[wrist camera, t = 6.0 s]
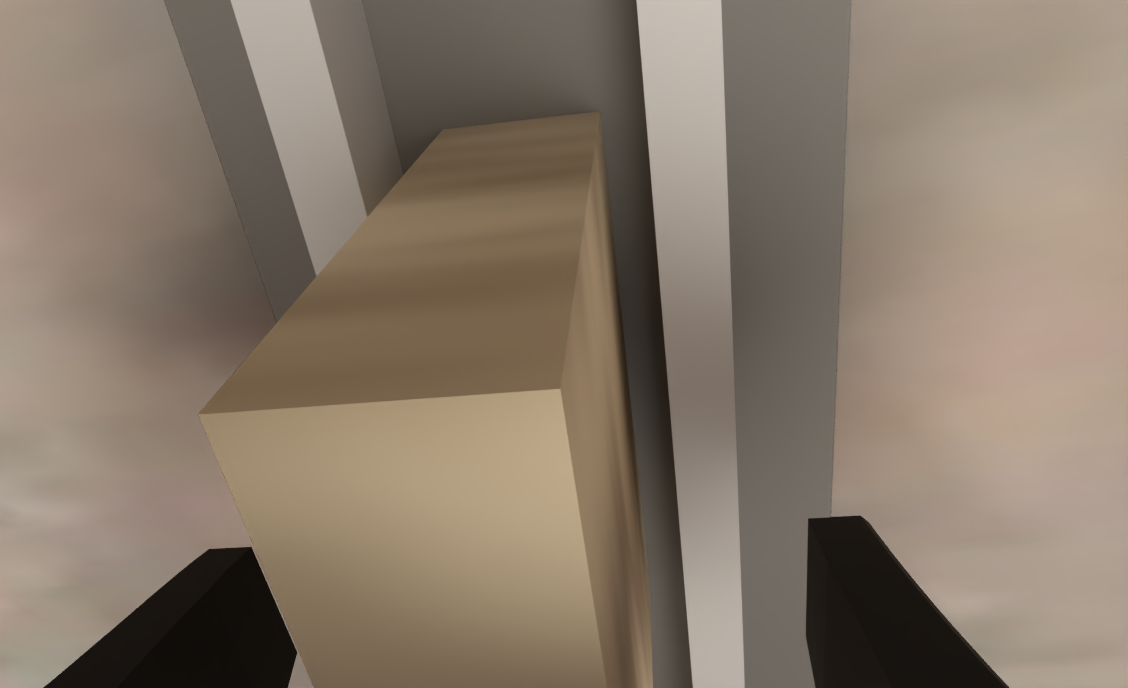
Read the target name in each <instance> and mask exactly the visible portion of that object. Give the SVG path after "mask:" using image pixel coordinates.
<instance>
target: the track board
mask: <svg viewBox="0 0 1128 688" xmlns="http://www.w3.org/2000/svg"><path fill="white" fill-rule="evenodd" d="M164 2H165V4H166V7H167V10H168V13H169V16H170V19H171V22H172V25H173V27H174V30H175V33H176V36H177V39H178V42H179V45H180V47H181V50H182V53H183V56H184V59H185V62H186V65H187V67H188V70H189V73H190V76H191V79H192V82H193V85H194V88H195V90H196V93H197V96H198V99H199V102H200V105H201V108H202V110H203V113H204V116H205V119H206V122H207V125H208V128H209V131H210V133H211V136H212V139H213V142H214V145H215V148H216V151H217V153H218V156H219V159H220V162H221V165H222V168H223V171H224V174H225V176H226V179H227V182H228V185H229V188H230V191H231V194H232V196H233V199H234V202H235V205H236V208H237V211H238V214H239V216H240V219H241V222H242V225H243V228H244V231H245V234H246V237H247V239H248V242H249V245H250V248H251V251H252V254H253V257H254V259H255V262H256V265H257V268H258V271H259V274H260V277H261V280H262V282H263V285H264V288H265V291H266V294H267V297H268V300H269V302H270V305H271V308H272V311H273V314H274V317H275V320H276V323H277V322H278V321H279V320H280V319H281V317H282V316H283V315H284V314H285V313H286V312H287V310H288V309H289V308H290V307H291V306H292V305H293V303H294V302H295V301H296V300H297V299H298V298H299V296H300V295H301V294H302V293H303V292H304V291H305V289H306V288H307V287H308V286H309V285H310V284H311V282H312V281H313V280H314V279H315V278H316V277H317V275H318V274H319V273H320V272H321V271H322V270H323V268H324V267H325V266H326V265H327V264H328V263H329V261H330V260H331V259H332V258H333V257H334V256H335V254H336V253H337V252H338V251H339V250H340V249H341V247H342V246H343V245H344V244H345V243H346V242H347V240H348V239H349V238H350V237H351V236H352V235H353V233H354V232H355V231H356V230H357V229H358V228H359V227H360V225H361V224H362V223H363V222H364V221H365V220H366V218H367V217H368V216H369V215H370V214H371V213H372V211H373V210H374V209H375V208H376V207H377V206H378V204H379V203H380V202H381V201H382V200H383V199H384V197H385V196H386V195H387V194H388V193H389V192H390V190H391V189H392V188H393V187H394V186H395V185H396V183H397V182H398V181H399V180H400V179H401V178H402V176H403V175H404V174H405V173H406V172H407V171H408V169H409V168H410V167H411V166H412V165H413V164H414V162H415V161H416V160H417V159H418V158H419V157H420V155H421V154H422V153H423V152H424V151H425V150H426V148H427V147H428V146H429V145H430V144H431V143H432V141H433V140H434V139H435V138H436V137H437V136H438V134H439V133H440V132H441V131H442V130H443V129H450V128H459V127H468V126H476V125H485V124H494V123H502V122H511V121H519V120H528V119H537V118H545V117H554V116H562V115H571V114H580V113H588V112H597V111H600V115H601V124H602V134H603V143H604V153H605V162H606V172H607V181H608V191H609V200H610V210H611V219H612V229H613V238H614V248H615V257H616V267H617V276H618V286H619V295H620V305H621V314H622V324H623V333H624V343H625V352H626V362H627V371H628V381H629V390H630V400H631V409H632V419H633V428H634V438H635V447H636V457H637V467H638V476H639V486H640V495H641V505H642V514H643V524H644V533H645V543H646V552H647V562H648V571H649V581H650V609H651V641H652V672H653V688H815V683H814V677H813V672H812V667H811V662H810V656H809V651H808V646H807V641H806V594H807V546H808V518H825V517H831V502H832V477H833V451H834V426H835V400H836V375H837V349H838V324H839V298H840V273H841V247H842V222H843V196H844V171H845V145H846V120H847V94H848V69H849V43H850V18H851V0H164Z"/></svg>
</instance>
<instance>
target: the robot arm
mask: <svg viewBox="0 0 1128 688" xmlns="http://www.w3.org/2000/svg"><path fill="white" fill-rule="evenodd" d="M806 641H807V646H808V651H809V656H810V662H811V667H812V672H813V677H814V683H815V688H1009V687H1008V686H1007V685H1006V684H1005V683H1004V682H1003V680H1002V679H1001V678H1000V677H999V676H998V675H997V674H996V673H995V672H994V671H993V670H992V669H991V668H990V666H989V665H988V664H987V663H986V662H985V661H984V660H983V659H982V658H981V657H980V655H979V654H978V653H977V652H976V651H975V650H974V649H973V648H972V647H971V646H970V644H969V643H968V642H967V641H966V640H965V639H964V638H963V637H962V636H961V634H960V633H959V632H958V631H957V630H956V629H955V628H954V627H953V626H952V624H951V623H950V622H949V621H948V620H947V619H946V618H945V616H944V615H943V614H942V613H941V612H940V611H939V609H938V608H937V607H936V606H935V605H934V604H933V602H932V601H931V600H930V599H929V598H928V596H927V595H926V594H925V593H924V592H923V590H922V589H921V588H920V587H919V586H918V584H917V583H916V582H915V581H914V580H913V578H912V577H911V576H910V575H909V574H908V572H907V571H906V570H905V569H904V567H903V566H902V565H901V564H900V562H899V561H898V560H897V559H896V557H895V556H894V555H893V554H892V552H891V551H890V550H889V548H888V547H887V546H886V544H885V543H884V542H883V541H882V539H881V538H880V537H879V535H878V534H877V533H876V531H875V530H874V529H873V527H872V526H871V525H870V523H869V522H867V521H866V520H865V519H864V518H863V517H861V516H845V517H825V518H808V546H807V594H806ZM296 655H297V651H296V649H295V647H294V644H293V642H292V640H291V637H290V635H289V633H288V630H287V628H286V626H285V623H284V621H283V619H282V617H281V614H280V612H279V610H278V607H277V605H276V603H275V600H274V598H273V596H272V594H271V591H270V589H269V587H268V584H267V582H266V580H265V577H264V575H263V573H262V570H261V568H260V566H259V564H258V561H257V559H256V557H255V554H254V552H253V550H252V547H241V548H222V549H209V550H207V551H206V552H205V553H203V554H202V555H201V556H199V557H198V558H197V559H196V560H194V561H193V562H192V563H190V564H189V565H188V566H187V567H186V568H184V569H183V570H182V571H181V572H179V573H178V574H177V575H176V576H175V577H173V578H172V579H171V580H170V581H169V582H167V583H166V584H165V585H164V586H163V587H162V588H160V589H159V590H158V591H157V592H156V593H154V594H153V595H152V596H151V597H150V598H149V599H147V600H146V601H145V602H144V603H143V604H142V605H140V606H139V607H138V608H137V609H136V610H135V611H133V612H132V613H131V614H130V615H129V616H128V617H126V618H125V619H124V620H123V621H122V622H121V623H119V624H118V625H117V626H116V627H115V628H114V629H112V630H111V631H110V632H109V633H108V634H107V635H105V636H104V637H103V638H102V639H101V640H100V641H98V642H97V643H96V644H95V645H94V646H92V647H91V648H90V649H89V650H88V651H87V652H85V653H84V654H83V655H82V656H81V657H79V658H78V659H77V660H76V661H75V662H74V663H72V664H71V665H70V666H69V667H68V668H67V669H65V670H64V671H63V672H62V673H61V674H59V675H58V676H57V677H56V678H55V679H54V680H52V681H51V682H50V683H49V684H47V685H46V686H45V687H44V688H288V684H289V681H290V677H291V673H292V669H293V666H294V662H295V658H296Z"/></svg>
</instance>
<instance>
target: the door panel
mask: <svg viewBox="0 0 1128 688" xmlns="http://www.w3.org/2000/svg"><path fill="white" fill-rule="evenodd" d="M198 416H199V418H200V421H201V423H202V425H203V428H204V430H205V432H206V435H207V437H208V439H209V442H210V444H211V447H212V449H213V451H214V454H215V456H216V458H217V461H218V463H219V465H220V468H221V470H222V472H223V475H224V477H225V479H226V482H227V484H228V486H229V489H230V491H231V494H232V496H233V498H234V501H235V503H236V505H237V508H238V510H239V512H240V515H241V517H242V519H243V522H244V524H245V526H246V529H247V531H248V533H249V536H250V538H251V541H252V543H253V545H254V548H255V550H256V552H257V555H258V557H259V559H260V562H261V564H262V566H263V569H264V571H265V573H266V576H267V578H268V580H269V583H270V585H271V587H272V590H273V592H274V595H275V597H276V599H277V602H278V604H279V606H280V609H281V611H282V613H283V616H284V618H285V620H286V623H287V625H288V627H289V630H290V632H291V634H292V637H293V639H294V642H295V644H296V646H297V649H298V651H299V653H300V656H301V658H302V660H303V663H304V665H305V667H306V670H307V672H308V674H309V677H310V679H311V681H312V684H313V686H314V688H653V672H652V641H651V609H650V581H649V571H648V562H647V552H646V543H645V533H644V524H643V514H642V505H641V495H640V486H639V476H638V467H637V457H636V447H635V438H634V428H633V419H632V409H631V400H630V390H629V381H628V371H627V362H626V352H625V343H624V333H623V324H622V314H621V305H620V295H619V286H618V276H617V267H616V257H615V248H614V238H613V229H612V219H611V210H610V200H609V191H608V181H607V172H606V162H605V153H604V143H603V134H602V124H601V115H600V111H597V112H588V113H580V114H571V115H562V116H554V117H545V118H537V119H528V120H519V121H511V122H502V123H494V124H485V125H476V126H468V127H459V128H450V129H443V130H442V131H441V132H440V133H439V134H438V136H437V137H436V138H435V139H434V140H433V141H432V143H431V144H430V145H429V146H428V147H427V148H426V150H425V151H424V152H423V153H422V154H421V155H420V157H419V158H418V159H417V160H416V161H415V162H414V164H413V165H412V166H411V167H410V168H409V169H408V171H407V172H406V173H405V174H404V175H403V176H402V178H401V179H400V180H399V181H398V182H397V183H396V185H395V186H394V187H393V188H392V189H391V190H390V192H389V193H388V194H387V195H386V196H385V197H384V199H383V200H382V201H381V202H380V203H379V204H378V206H377V207H376V208H375V209H374V210H373V211H372V213H371V214H370V215H369V216H368V217H367V218H366V220H365V221H364V222H363V223H362V224H361V225H360V227H359V228H358V229H357V230H356V231H355V232H354V233H353V235H352V236H351V237H350V238H349V239H348V240H347V242H346V243H345V244H344V245H343V246H342V247H341V249H340V250H339V251H338V252H337V253H336V254H335V256H334V257H333V258H332V259H331V260H330V261H329V263H328V264H327V265H326V266H325V267H324V268H323V270H322V271H321V272H320V273H319V274H318V275H317V277H316V278H315V279H314V280H313V281H312V282H311V284H310V285H309V286H308V287H307V288H306V289H305V291H304V292H303V293H302V294H301V295H300V296H299V298H298V299H297V300H296V301H295V302H294V303H293V305H292V306H291V307H290V308H289V309H288V310H287V312H286V313H285V314H284V315H283V316H282V317H281V319H280V320H279V321H278V322H277V323H276V324H275V326H274V327H273V328H272V329H271V330H270V331H269V333H268V334H267V335H266V336H265V337H264V338H263V339H262V341H261V342H260V343H259V344H258V345H257V346H256V348H255V349H254V350H253V351H252V352H251V353H250V355H249V356H248V357H247V358H246V359H245V360H244V362H243V363H242V364H241V365H240V366H239V367H238V369H237V370H236V371H235V372H234V373H233V374H232V376H231V377H230V378H229V379H228V380H227V381H226V383H225V384H224V385H223V386H222V387H221V388H220V390H219V391H218V392H217V393H216V394H215V395H214V397H213V398H212V399H211V400H210V401H209V402H208V404H207V405H206V406H205V407H204V408H203V409H202V411H201V412H200V413H199V414H198Z"/></svg>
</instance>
